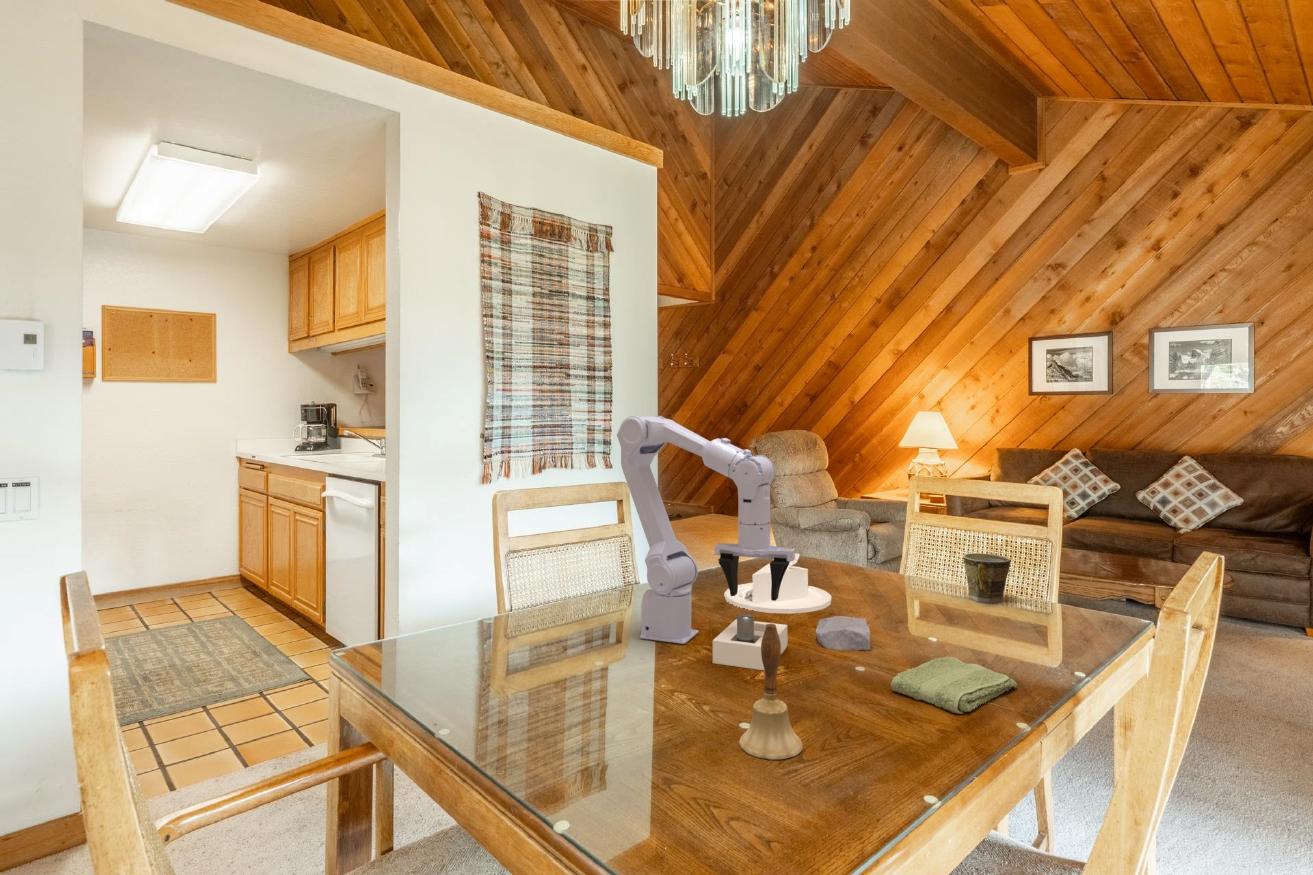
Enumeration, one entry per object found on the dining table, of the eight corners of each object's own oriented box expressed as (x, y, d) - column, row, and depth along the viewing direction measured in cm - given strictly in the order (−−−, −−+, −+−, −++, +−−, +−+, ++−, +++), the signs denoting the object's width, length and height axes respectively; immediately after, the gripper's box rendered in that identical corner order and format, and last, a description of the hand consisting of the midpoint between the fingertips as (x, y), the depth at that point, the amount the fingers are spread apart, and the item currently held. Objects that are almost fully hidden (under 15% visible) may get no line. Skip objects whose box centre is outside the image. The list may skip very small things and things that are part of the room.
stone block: (821, 659, 131) (875, 651, 129) (815, 633, 131) (870, 625, 129) (818, 641, 142) (868, 634, 141) (813, 617, 143) (863, 610, 141)
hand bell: (733, 732, 97) (733, 617, 96) (792, 729, 97) (792, 615, 97) (746, 761, 88) (746, 636, 88) (810, 758, 89) (811, 634, 88)
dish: (767, 582, 184) (767, 539, 184) (852, 600, 166) (852, 552, 165) (703, 599, 167) (703, 552, 167) (789, 621, 149) (789, 569, 149)
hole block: (712, 662, 123) (712, 640, 123) (736, 639, 136) (736, 618, 136) (768, 670, 119) (768, 647, 119) (787, 645, 132) (787, 624, 132)
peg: (734, 662, 124) (734, 617, 124) (740, 656, 126) (740, 612, 126) (751, 664, 123) (751, 619, 122) (756, 659, 125) (756, 614, 125)
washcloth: (1020, 690, 111) (1021, 670, 111) (962, 720, 101) (963, 698, 101) (943, 667, 122) (943, 649, 122) (883, 692, 111) (883, 672, 111)
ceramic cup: (968, 592, 171) (968, 551, 171) (1013, 598, 165) (1014, 556, 165) (955, 604, 161) (955, 560, 160) (1003, 611, 155) (1003, 565, 155)
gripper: (708, 523, 127) (708, 597, 127) (788, 528, 121) (787, 606, 121) (721, 518, 133) (721, 589, 134) (797, 522, 127) (797, 597, 128)
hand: (754, 597), depth 128 cm, fingers open, 7 cm apart
